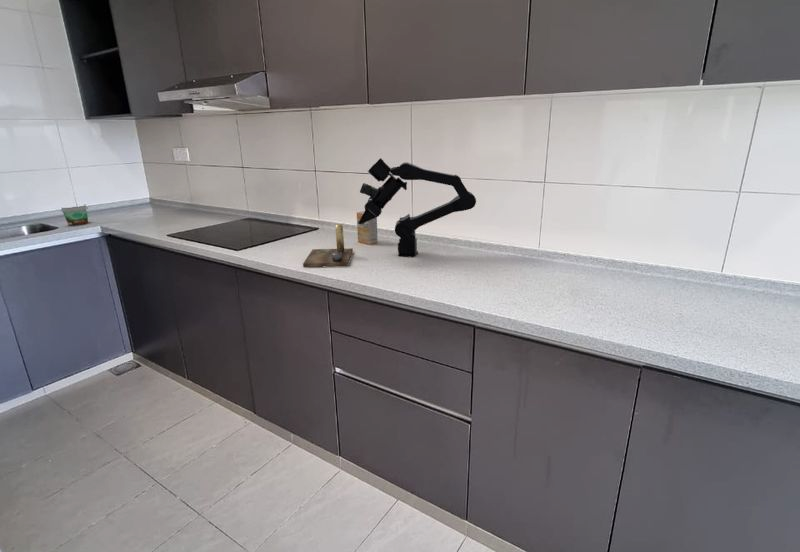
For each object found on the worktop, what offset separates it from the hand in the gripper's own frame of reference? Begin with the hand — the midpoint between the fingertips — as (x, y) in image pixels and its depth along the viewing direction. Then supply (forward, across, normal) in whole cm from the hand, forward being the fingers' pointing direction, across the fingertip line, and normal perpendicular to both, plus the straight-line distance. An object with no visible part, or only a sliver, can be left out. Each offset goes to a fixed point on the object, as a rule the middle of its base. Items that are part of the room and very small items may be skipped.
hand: (360, 220), depth 166 cm
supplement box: (+10, -19, +10) cm, 24 cm away
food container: (+123, -68, -108) cm, 177 cm away
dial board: (+18, +5, +1) cm, 19 cm away
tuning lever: (+14, +5, +2) cm, 15 cm away
